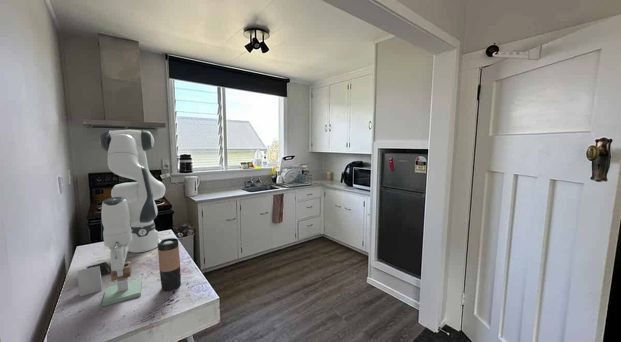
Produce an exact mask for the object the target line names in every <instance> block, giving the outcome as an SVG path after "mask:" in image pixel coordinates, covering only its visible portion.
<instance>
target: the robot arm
mask: <svg viewBox="0 0 621 342" xmlns="http://www.w3.org/2000/svg"><path fill="white" fill-rule="evenodd" d="M99 144H100V146H101V149H102V150H104V151H105V152H107V167H108V168H109V170H110V172H112V173H113V174H114V175H117V176H119V177H121V178H124V179H125V178H126V179H131V180H133V181H131V182H122V183H119V184H115V185H114V186H113V187H112V188H111V193H110V196H111V197H109V198H107V199H104V200H103V201H102V203H101V211H100V212H101V215H100V216H101V217H100V218H101V224H102V226H103V231H102V236H103V237H102V238H103V244H104V247H106V248H108V249H109V250H110V255H109V257H110V270H112V271H116V272H117V276H118V277H119V276H123V268H124V264H125V262H126V258H127V255H128V252H131V253H143V252H144V253H145V252H147V251H148V252H149V251H151V250H152V251H153V250H154V249H156V248H158V243H160V242H161V241H162V240H161V238H160V236H159V231H158V230H156V224H155V221H154V220H155V219H156V218H157V216H158V205H157V204H156V201H155V200H157V199H162V198H163V197H164V196H165V194H166V190H167V189H166V186H165V184H164V183H163V182H162V181H160V180H158V179H156V178H155V177H154V176H153V174H152V173H151V172H150V169H149V165H148V159H147V158H148V157H147V153H146V152H148V151H151V150H152V149H153V147H154V144H155V138H154V135H153V134H152V132H150V130H149V131H148V130H146V129H145V130H144V129H142V130H138V129H118V130H117V129H115V130H111V129H109V130H105V131H103V132H101V134H100V136H99Z"/></svg>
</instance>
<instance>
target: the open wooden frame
mask: <svg viewBox="0 0 621 342" xmlns="http://www.w3.org/2000/svg"><path fill="white" fill-rule="evenodd" d="M110 270H111V269H110ZM131 274H132V261H131V260H130V261H125V264H124V268H123V276H119V277H118V276H117V272H116V271H112V270H111V273H110V278H111V280H110V281H111V282H113V281H117V280H118V279H123V278H127V277H128V278H129V277H130V278H131Z"/></svg>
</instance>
